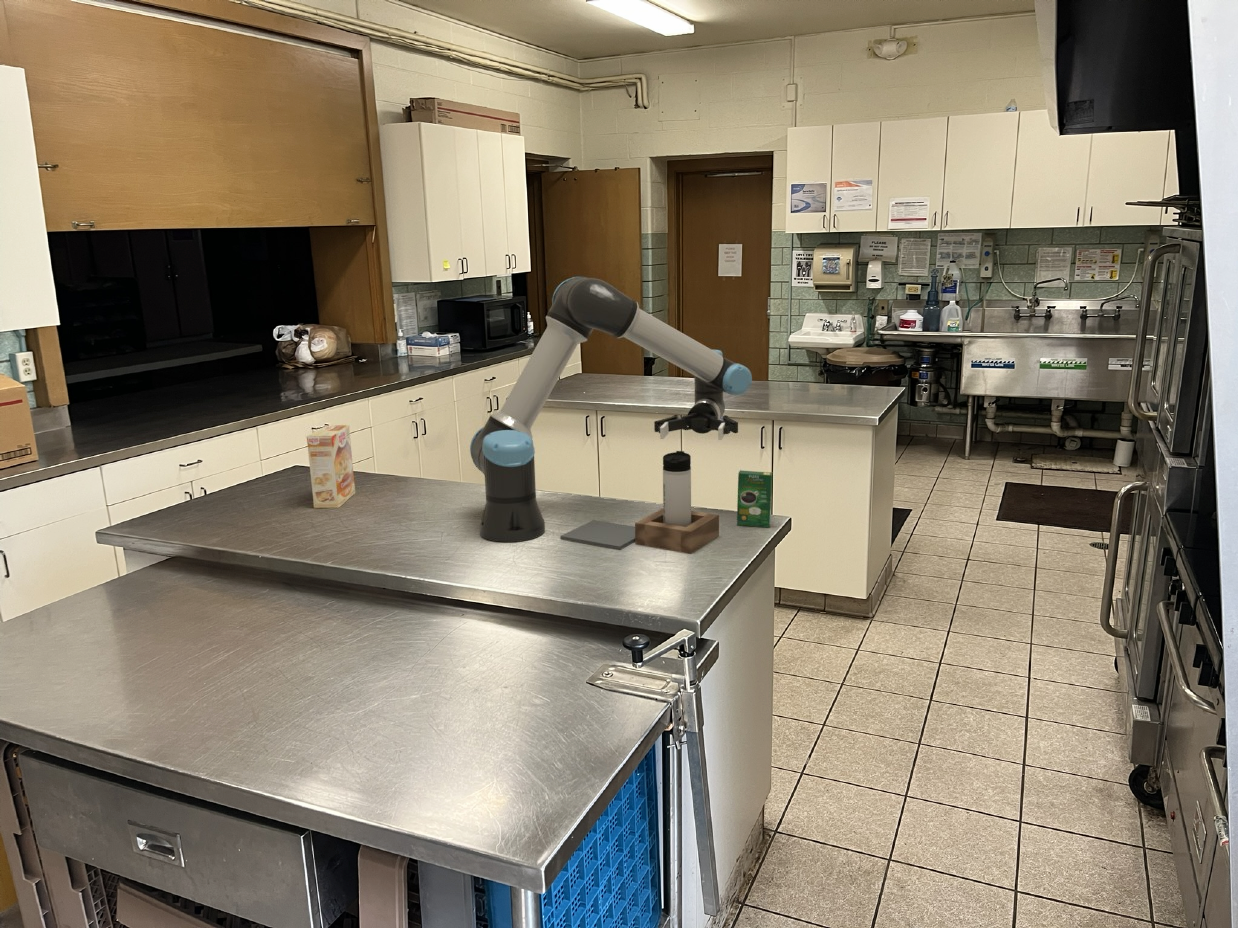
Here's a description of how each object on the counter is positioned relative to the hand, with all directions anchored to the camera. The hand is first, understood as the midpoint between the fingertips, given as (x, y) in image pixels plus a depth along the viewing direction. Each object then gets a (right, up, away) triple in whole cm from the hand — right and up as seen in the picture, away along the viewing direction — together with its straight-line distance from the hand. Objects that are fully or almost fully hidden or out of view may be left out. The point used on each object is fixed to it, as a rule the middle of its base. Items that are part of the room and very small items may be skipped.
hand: (690, 433), depth 204 cm
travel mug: (-3, -24, -4) cm, 25 cm away
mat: (-20, -24, 0) cm, 31 cm away
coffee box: (+15, -22, +5) cm, 27 cm away
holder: (-3, -24, -4) cm, 25 cm away
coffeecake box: (-94, -17, +35) cm, 101 cm away
